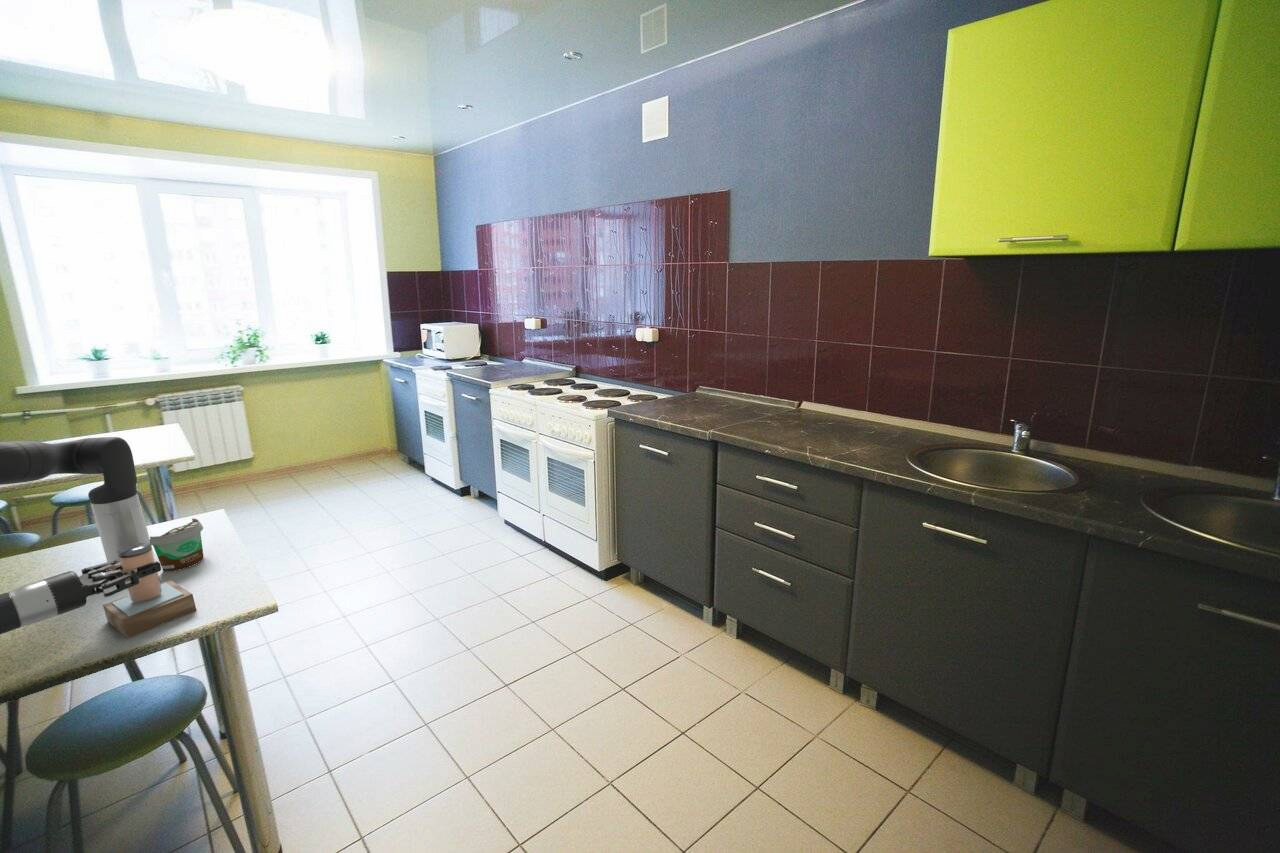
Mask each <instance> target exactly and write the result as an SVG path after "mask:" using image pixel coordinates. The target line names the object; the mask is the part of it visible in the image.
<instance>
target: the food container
mask: <svg viewBox="0 0 1280 853" xmlns="http://www.w3.org/2000/svg"><path fill="white" fill-rule="evenodd" d="M203 529H204V526H203V524H202V522H201V521H199V519H197V518H191V522H189V523H186V524H184V525H182V526H178V527H174V528H172V529H169V531H167V532H165V533H163V534H161V535H158V536H149V538H150V544H151V546H153V547H152V548H153V549H154V551H155V554H156V556H157V559H158V562H159V563H160V566H161V570H162V572H175V571H174V570H176V571H180V570H179V569H181V570H184V569H187V567H188V568H190V567H189V566H191V567H192V565H193V566H195V565H197V564H199V563H200V562H199V561H201V560H202V559H203V560H204V558H203V557H204V550H203V542H202V541H203V540H202V534H201V532H202V531H203ZM203 560H202V561H203ZM202 561H201V562H202ZM198 562H199V563H198ZM196 563H197V564H196ZM194 564H195V565H194ZM183 568H184V569H183Z"/></svg>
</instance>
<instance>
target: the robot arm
mask: <svg viewBox="0 0 1280 853" xmlns="http://www.w3.org/2000/svg"><path fill="white" fill-rule="evenodd" d="M135 466H136V465H135V461H134V456H133V452H132V449H131V446H130V445H129V443H128V442H127V441H126V440H125V439H124V438H122V437H119V436H105V437H87V438H80V439H74V440H70V441H69V440H68V441H64V442H54V443H47V442H46V443H45V442H41V441H38V440H37V441H36V440H35V441H34V440H9V441H8V440H7V441H0V486H2V485H14V484H21V483H29V482H35V481H38V480H42V479H45V478H47V477H49V476H52V475H60V474H61V475H64V474H65V475H67V474H70V475H71V474H73V475H74V474H75V475H103V484H101V485H99V486H96V487H93V488H92V489H91V490H89V491H88V494H87V496H88V501H89V503H90V507H91V510H92V513H93V517H94V521H95V523H96V527H97V531H98V534H99V537H100V541H101V544H102V549H103V552H104V554H105V559H106V561H107V562H105V563H101V564H97V565H93V566H89V567H86V568H85V567H84V568H82V569H81V575H80V576H78V574H77V573H76V572H75V571H72V570H70V571H66V572H63V573H58V574H55V575H53V576H50V577H47V578H44V579H40V580H37V581H35V582H31V583H28V584H24V585H23V586H20V587H17V588H15V589H13V590H10V591H7V592H4V593H0V635H3V634H6V633H8V632H11V631H13V630H14V631H15V630H16V629H20V628H22V627H27V626H29V625H35V624H37V623H38V624H39V623H40V622H44V621H45V620H46V621H47V620H49V619H52V618H54V617H57V616H60V615H63V614H66V613H68V612H72V611H74V610H77V609H80V608H82V607H85V605H87V602H88V601H87V598H88V597H89V596H94V595H100V594H103V596H104V598H108V597H111V596H114V595H116V594H118V593H120V592H122V591H125V590H127V589H128V588H130V587H132V586H134V585H137V584H139V580H140V578H142V577H145V576H148V575H151V574H154V573H156V572H157V573H159V572H161V571H162V567H161V564H160V562H159V560H157V561H155V560H154V561H155V562H152V563H149V564H146V565H144V566H141V567H137V568H134V569H130V570H126V571H123V568H122V565H121V561H120V557H119V556H118V551H119V550H120V549H122V548H124V547H127V546H130V545H134V544H138V543H150V534H149V531H148V528H147V524H146V520H145V516H144V511H143V508H142V505H141V502H140V497H139V493H138V489H137V483H138V478H137V472H136V467H135ZM152 553H153V554H154V551H153V549H152ZM126 574H127V575H126ZM128 578H130V579H128ZM127 583H128V584H127Z"/></svg>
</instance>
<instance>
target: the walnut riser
mask: <svg viewBox="0 0 1280 853" xmlns="http://www.w3.org/2000/svg"><path fill="white" fill-rule="evenodd" d="M160 585H161V589H162V592H161V593H160V594H159V595H158V596H156V597H154V598H151V599H148V600H144V601H138V602H134V601H131V598H130V594H129V595H126V596H122V597H121V598H119V599H115V600H113V601H110V602H107V603H105V604H102V606H103V610H104V613H105V616H106V620H107V622H108V623H109V624H110V625H111V626H113V627H114V628H115V629H116V630H117V631H119V632H120V633H121V634H122V635H124V637H126V638H127V639H130V638H132V637H135V636H137V635H140V634H142V633H143V634H144V633H145V632H147V631H149V630H153V629H154V627H155V628H157V627H160V626H162V625H164V624H166V622H167V623H169V622H171V621H174V620H177V619H178V618H181V617H183V616H186V615H188V614H190V613H193V612H196V611H197V607H196V602H195V598H194V595H193V593H192V592H191V591H189V590H187V589H185V588H184V587H182V586H180V584H179V585H178V584H177V583H176V582H174V581H172V580H167V581H164V582H162V583H161V582H160ZM163 623H164V624H163ZM161 624H162V625H161ZM159 625H160V626H159ZM156 626H157V627H156Z"/></svg>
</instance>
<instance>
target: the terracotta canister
mask: <svg viewBox="0 0 1280 853" xmlns="http://www.w3.org/2000/svg"><path fill="white" fill-rule="evenodd" d="M152 546H153V545H151V544H150V543H138V544H134V545H130V546H127V547H124V548H122V549H120V550H119V551H118V556H119V557H120V561H121V565H122V568H123V571H126V570H130V569H134V568H137V567H141V566H144V565H146V564H149V563H152V562H155V558H154V552H153V553H152V550H153V547H152ZM126 575H127V574H126ZM128 579H130V578H128ZM127 584H128V583H127ZM160 584H161V581H160V577H159V572H156V573H154V574H151V575H148V576H145V577H142V578H140V580H139V584H137V585H134V586H132V587H130V588H127V589H128V594H129V595H130V598H131V601H134V602H138V601H144V600H148V599H151V598H154V597H156V596H158V595H159V594H160V593H161V592H162V589H161V585H160Z"/></svg>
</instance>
